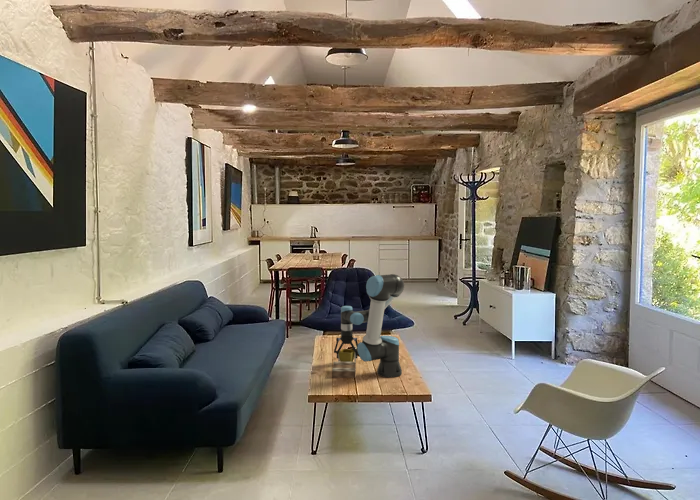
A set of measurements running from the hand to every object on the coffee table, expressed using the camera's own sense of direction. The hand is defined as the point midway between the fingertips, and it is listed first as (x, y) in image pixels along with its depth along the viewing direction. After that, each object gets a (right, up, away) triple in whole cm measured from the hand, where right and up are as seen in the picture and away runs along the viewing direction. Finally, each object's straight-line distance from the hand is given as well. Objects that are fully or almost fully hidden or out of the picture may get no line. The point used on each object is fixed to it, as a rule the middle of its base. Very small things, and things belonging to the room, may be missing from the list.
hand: (347, 363), depth 320 cm
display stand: (-2, -2, -19) cm, 19 cm away
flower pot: (0, -1, 0) cm, 1 cm away
